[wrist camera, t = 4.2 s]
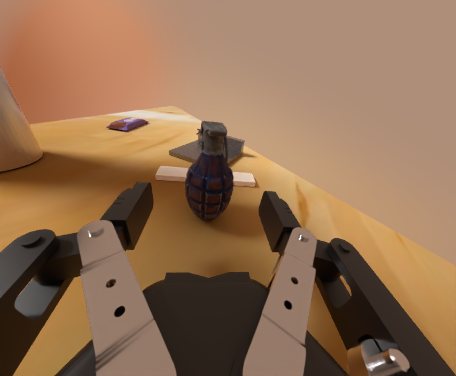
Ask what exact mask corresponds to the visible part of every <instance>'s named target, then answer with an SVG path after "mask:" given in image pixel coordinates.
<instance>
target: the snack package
mask: <svg viewBox="0 0 456 376" xmlns="http://www.w3.org/2000/svg"><path fill="white" fill-rule="evenodd" d="M147 122H148V121H145V120H143V119H136V118H125V119H122V120H118V121H115V122H113V123H111V124H110V125H109V126H107V127H106V128H112V129H118V130H125V131H129V130H131V129H134V128H136V127H139V126H141V125H144V124H146V123H147Z"/></svg>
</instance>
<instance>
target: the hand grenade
mask: <svg viewBox="0 0 456 376" xmlns="http://www.w3.org/2000/svg"><path fill="white" fill-rule="evenodd" d="M197 130H200V129H197ZM199 133H200V135H202V145H201V150H202V152H201V154H200V156H199V157H198V159H197V161H196V162H195V163H194V164H192V165H191V167H190V168H189V169H188V171H187V174H186V177H187V178H186V180H185V190H186V197H187V201H188V203H189V206H190V208H191V209H192V210H193V212H194V213H195V214H196V215H197V216H198V217H200V218H201V219H203V220H211V219H214V218H216V217H218V216H219V215H220V214H221V213H222V212H223V211H224V210H225V209H226V207H227V205H228V204H229V201H230V199H231V195H232V191H233V186H234V182H233V179H234V177H233V172H232V170H231V169H230V168H228V165H229V163H228V143H227V138H226V135H227V129H226V127H225V126H224V125H223V123H217V122H206V121H203V122H202V123H201V130H200V132H198V133H197V134H199ZM197 134H196V135H197ZM223 141H224V142H225V143H224V142H223ZM224 145H225V151H226V157H225V154H224Z"/></svg>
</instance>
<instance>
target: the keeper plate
mask: <svg viewBox="0 0 456 376" xmlns="http://www.w3.org/2000/svg"><path fill="white" fill-rule="evenodd" d="M200 130H201V129H200ZM200 130H199V131H198V132H200ZM226 138H227V143H228V163H229V164H230V163H232V162H233V161H234V160H236V159H237V158H238V157H239V156H241V155H242V151H243V146H244V140H241V139H237V138H233V137H230V136H226ZM223 142H224V141H223ZM224 143H225V142H224ZM201 145H202V135H200V133H199V134H198V140H197V141H194V142H191V143H189V144H186V145H183V146H181V147H178V148H175V149H172V150H170V151H169V155H172V156H175V157H177V158H180V159H183V160H186V161H189V162H192V163H195V162H196V161H197V159H198V157H199V156H200V154H201V152H202V150H201ZM224 154H225V157H226V151H225V145H224Z"/></svg>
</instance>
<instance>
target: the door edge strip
mask: <svg viewBox="0 0 456 376" xmlns="http://www.w3.org/2000/svg"><path fill="white" fill-rule="evenodd" d="M188 169H189V168H182V167H171V166H160V168H159V169H158V171H157V173H156V174H155V177H156V180H166V181H180V182H185V180H186V178H187V177H186V174H187V171H188ZM233 177H234V179H233V182H234V185H236V186H249V187H255V183H256V182H255V180H254V177H253V175H252V173H242V172H233Z"/></svg>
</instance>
